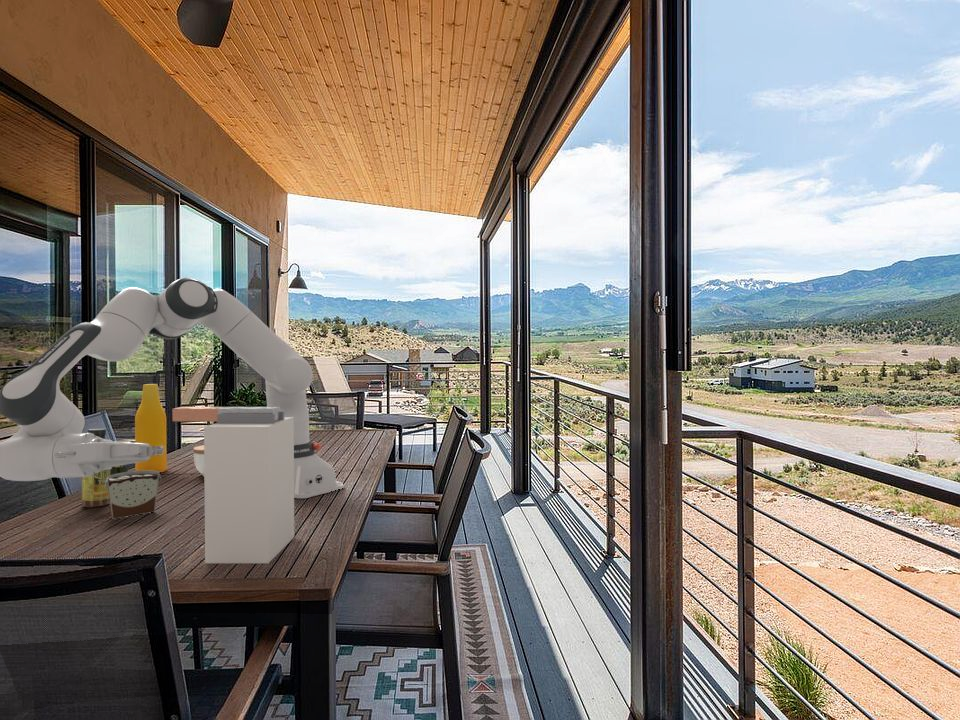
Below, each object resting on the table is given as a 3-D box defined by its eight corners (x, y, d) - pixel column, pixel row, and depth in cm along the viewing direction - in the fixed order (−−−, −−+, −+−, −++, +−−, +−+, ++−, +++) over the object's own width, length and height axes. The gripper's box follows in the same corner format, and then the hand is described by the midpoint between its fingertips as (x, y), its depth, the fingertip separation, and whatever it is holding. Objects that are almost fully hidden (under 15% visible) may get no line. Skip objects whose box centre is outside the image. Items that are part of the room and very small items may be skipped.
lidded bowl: (192, 480, 187) (192, 444, 187) (194, 472, 199) (193, 439, 198) (236, 476, 192) (236, 442, 192) (235, 469, 204) (235, 437, 203)
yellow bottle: (151, 468, 206) (150, 383, 206) (173, 469, 203) (172, 383, 203) (128, 473, 197) (127, 384, 197) (151, 475, 195) (150, 385, 194)
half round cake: (154, 506, 156) (153, 468, 156) (161, 511, 152) (161, 471, 151) (98, 515, 147) (98, 475, 147) (105, 521, 143) (104, 478, 143)
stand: (205, 563, 115) (203, 417, 114) (238, 537, 131) (237, 408, 130) (268, 563, 115) (267, 417, 114) (294, 537, 131) (293, 408, 130)
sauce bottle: (96, 509, 153) (95, 431, 153) (75, 507, 155) (74, 430, 154) (116, 502, 160) (115, 427, 159) (96, 501, 161) (95, 427, 161)
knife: (172, 421, 120) (172, 408, 120) (182, 418, 124) (182, 406, 124) (273, 421, 120) (272, 408, 120) (279, 418, 124) (279, 406, 124)
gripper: (48, 438, 112) (125, 432, 113) (109, 440, 133) (173, 435, 134) (47, 472, 112) (124, 466, 112) (108, 469, 132) (173, 464, 133)
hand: (151, 449), depth 123 cm, fingers open, 8 cm apart
